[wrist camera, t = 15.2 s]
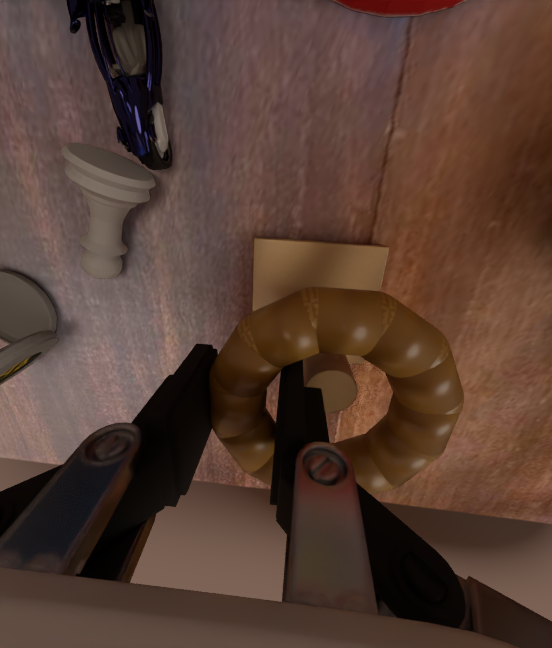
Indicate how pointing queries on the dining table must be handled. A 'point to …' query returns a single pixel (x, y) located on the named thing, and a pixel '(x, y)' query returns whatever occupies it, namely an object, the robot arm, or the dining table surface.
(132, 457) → the robot arm
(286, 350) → the segmented ring
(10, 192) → the dining table surface
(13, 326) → the pocket watch
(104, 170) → the chess piece
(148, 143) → the toy car
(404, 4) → the toy clock
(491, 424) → the dining table surface
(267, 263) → the stand
